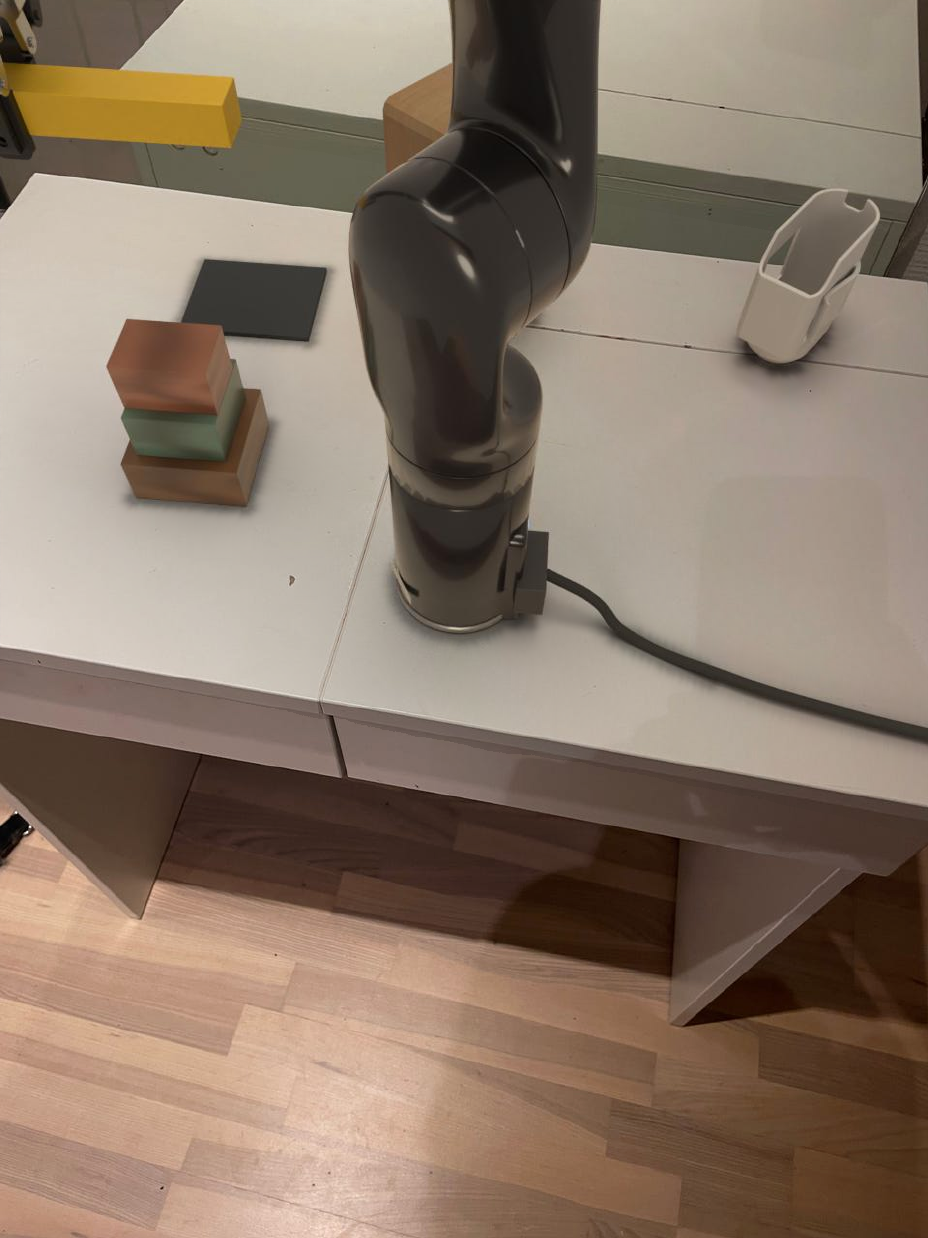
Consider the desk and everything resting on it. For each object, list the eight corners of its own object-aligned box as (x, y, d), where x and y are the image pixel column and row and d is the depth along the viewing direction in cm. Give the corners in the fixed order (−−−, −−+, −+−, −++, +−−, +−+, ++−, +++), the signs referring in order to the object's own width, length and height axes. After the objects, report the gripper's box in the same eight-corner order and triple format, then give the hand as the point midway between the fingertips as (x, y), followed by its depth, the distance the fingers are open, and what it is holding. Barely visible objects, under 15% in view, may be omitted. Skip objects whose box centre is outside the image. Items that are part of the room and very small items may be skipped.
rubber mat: (326, 270, 85) (326, 267, 85) (308, 341, 80) (308, 337, 79) (205, 262, 85) (204, 258, 85) (179, 331, 80) (178, 327, 80)
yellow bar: (242, 119, 52) (233, 76, 50) (231, 148, 51) (222, 104, 49) (-4, 104, 53) (-23, 60, 50) (-22, 132, 51) (-43, 87, 49)
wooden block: (390, 316, 82) (376, 95, 65) (462, 267, 86) (467, 47, 69) (468, 368, 78) (475, 150, 61) (540, 314, 82) (565, 95, 65)
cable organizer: (719, 361, 79) (760, 244, 69) (785, 293, 84) (832, 174, 74) (784, 395, 77) (836, 280, 67) (848, 323, 82) (905, 206, 72)
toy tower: (269, 423, 74) (241, 307, 64) (246, 506, 70) (212, 395, 59) (165, 416, 75) (120, 299, 64) (135, 497, 70) (82, 385, 60)
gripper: (-117, -190, 34) (52, 213, 49) (8, -299, 42) (122, 81, 56) (-303, -201, 34) (-79, 204, 49) (-146, -307, 42) (8, 73, 56)
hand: (28, 137), depth 53 cm, fingers closed on yellow bar, 3 cm apart
